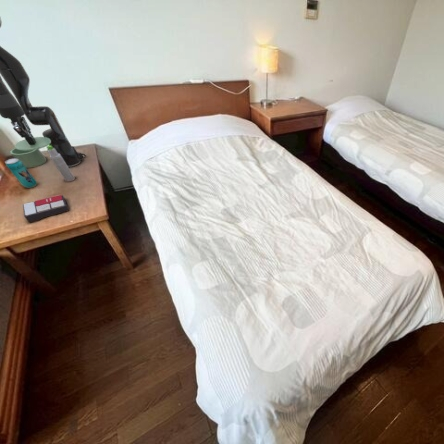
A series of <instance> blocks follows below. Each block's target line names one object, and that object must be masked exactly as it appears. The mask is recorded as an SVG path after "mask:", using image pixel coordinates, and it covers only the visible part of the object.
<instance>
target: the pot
mask: <svg viewBox="0 0 444 444" xmlns="http://www.w3.org/2000/svg"><path fill="white" fill-rule="evenodd" d="M9 152H10V153H9V154H11V156H12V157H13V158H17V159H19V160H20V161H21V162H22V163H23V164H24V166H25V167H26V168H27V169H28V168H29V169H30V168H36V167H40V166H42V165H44V164H45V163H46V162H47V158H46V157H45V155H44V153H43V152H42V150H41V148H40V149H36V150H29V151H22V150H18V149H16V148H15V147H14V148H13V149H11V150H10V151H9Z"/></svg>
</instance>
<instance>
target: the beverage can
mask: <svg viewBox="0 0 444 444" xmlns="http://www.w3.org/2000/svg"><path fill="white" fill-rule="evenodd" d="M4 163H5V166H6V167H7V168H8V169H9V171H10V172H11V174H13V176H14V177H15V178H16V180H17V181H18V182H19V183H20V184H21V185H22V186H23V187H25V188H27V189H31V188H35V187H36V186H37V185H38V184H37V183H38V182H37V180H36V179H35V178H34V176H33V175H32V174H31V172H30V171H29V169H28V168H26V167H25V166H24V164H23V163H22V162H21V161H20V160H19V159H17V158H14V157H13V158H9V159H7V160H5V161H4Z"/></svg>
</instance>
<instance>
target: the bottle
mask: <svg viewBox="0 0 444 444" xmlns="http://www.w3.org/2000/svg"><path fill="white" fill-rule="evenodd" d="M46 148H47V149H46V150H47V152H48V154H49V158H50V159H51V162H53V164H54V165H55V167H56V168H57V170H58V172H59V173H60V175H61V176H62V177H63V179H64V181H65V182H72V181H74V180H75V178H76V177H75V176H74V174H73V173H72V171H71V169H70V167H68V166H67V164H66V163H65V161H64V160H63V158H62V157H61V155H60V154H59V153H57V151H56V150H55V148H53V147H52V146H51V145H48V146H46Z"/></svg>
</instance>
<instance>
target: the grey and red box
mask: <svg viewBox="0 0 444 444" xmlns="http://www.w3.org/2000/svg"><path fill="white" fill-rule="evenodd" d="M22 210H23V217H24V218H25V219H26V220H27V222H28V223H32V222H36V221H39V220H41V219H43V218H46V217H51V216H55V215H58V214H62V213H66V212H69V211H70V209H69V205H68V203H67V199H66V198H65V196H64V195H63V194H58V195H55V196H51V197H46V198H41V199H38V200H34V201H31V202H26V203H23V204H22Z"/></svg>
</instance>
